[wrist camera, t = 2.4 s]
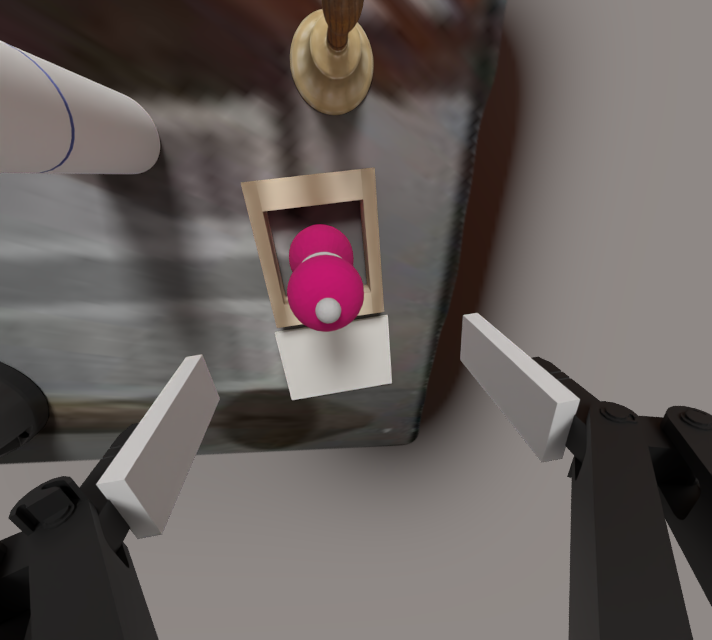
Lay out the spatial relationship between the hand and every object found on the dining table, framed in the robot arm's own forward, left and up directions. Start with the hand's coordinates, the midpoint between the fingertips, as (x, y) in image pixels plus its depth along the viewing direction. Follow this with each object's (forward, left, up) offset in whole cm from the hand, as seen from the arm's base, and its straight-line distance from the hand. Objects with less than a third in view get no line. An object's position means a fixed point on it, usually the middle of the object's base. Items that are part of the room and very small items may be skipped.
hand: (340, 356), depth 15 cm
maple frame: (0, 0, -25) cm, 25 cm away
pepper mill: (0, 0, -25) cm, 25 cm away
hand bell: (+4, +18, -25) cm, 31 cm away
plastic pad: (0, -17, -25) cm, 30 cm away
